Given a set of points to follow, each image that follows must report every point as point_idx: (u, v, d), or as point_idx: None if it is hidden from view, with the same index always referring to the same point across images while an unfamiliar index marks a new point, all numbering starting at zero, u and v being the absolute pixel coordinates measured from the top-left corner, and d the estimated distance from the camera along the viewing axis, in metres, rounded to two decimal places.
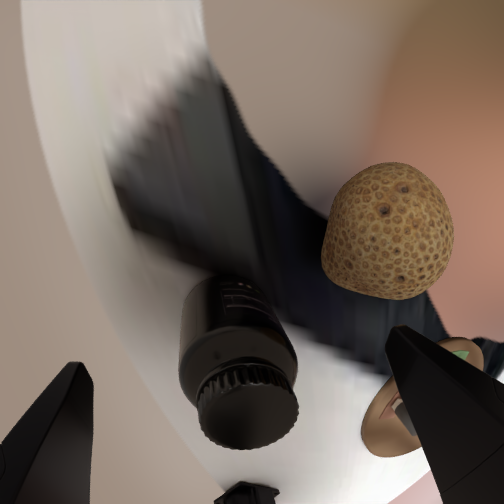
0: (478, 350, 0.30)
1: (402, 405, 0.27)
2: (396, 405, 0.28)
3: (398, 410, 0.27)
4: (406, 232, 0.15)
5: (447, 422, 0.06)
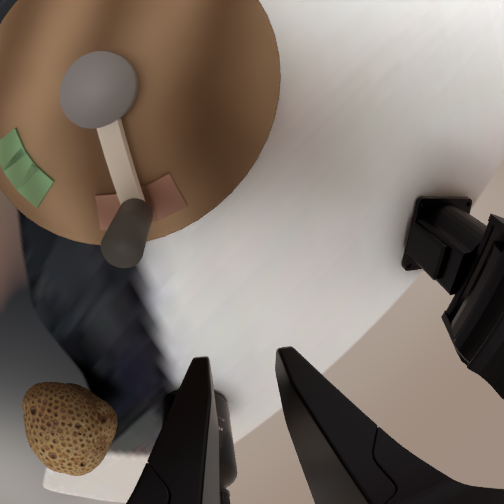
0: None
1: None
2: None
3: None
4: (72, 474, 0.19)
5: (319, 468, 0.05)
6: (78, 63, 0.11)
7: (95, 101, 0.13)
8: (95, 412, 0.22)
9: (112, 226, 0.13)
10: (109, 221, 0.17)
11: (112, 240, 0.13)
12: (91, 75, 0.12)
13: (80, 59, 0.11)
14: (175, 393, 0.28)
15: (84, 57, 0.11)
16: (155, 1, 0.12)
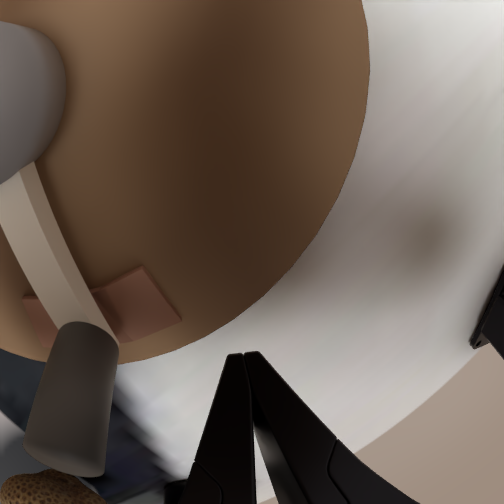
0: None
1: None
2: None
3: None
4: None
5: (279, 477, 0.05)
6: None
7: None
8: None
9: (34, 423, 0.05)
10: (52, 337, 0.09)
11: (41, 449, 0.05)
12: None
13: None
14: (178, 485, 0.19)
15: None
16: None
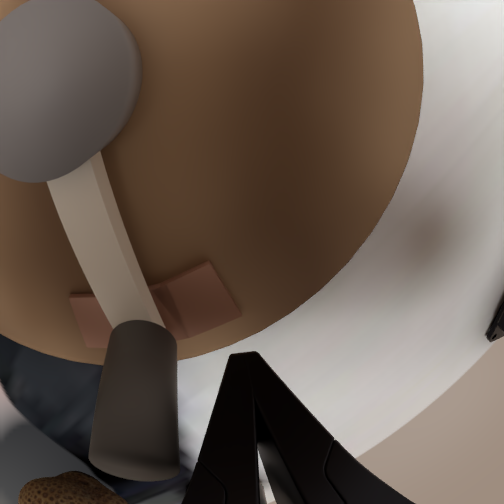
0: None
1: None
2: None
3: None
4: None
5: (276, 477, 0.05)
6: (3, 28, 0.03)
7: (36, 116, 0.05)
8: None
9: (106, 430, 0.05)
10: (100, 336, 0.09)
11: (112, 458, 0.05)
12: (27, 52, 0.04)
13: (8, 18, 0.03)
14: None
15: (17, 12, 0.03)
16: None
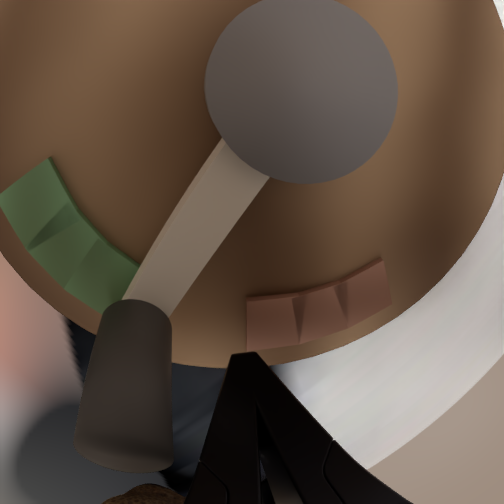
0: None
1: None
2: None
3: None
4: None
5: (275, 478, 0.05)
6: (339, 13, 0.05)
7: (289, 107, 0.06)
8: None
9: (131, 414, 0.05)
10: (266, 338, 0.10)
11: (117, 443, 0.04)
12: (335, 59, 0.05)
13: (349, 12, 0.05)
14: None
15: (357, 19, 0.05)
16: None
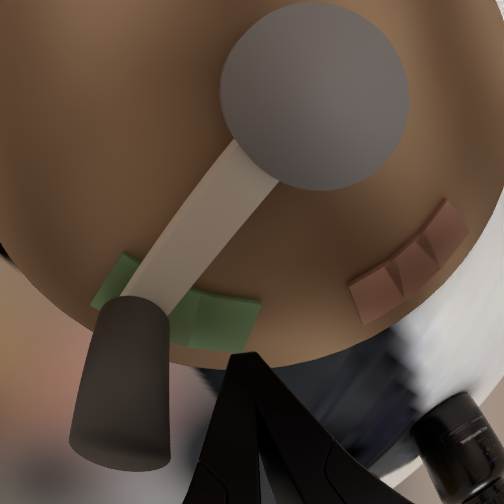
0: (26, 267, 0.08)
1: None
2: None
3: None
4: None
5: (276, 477, 0.05)
6: (359, 25, 0.05)
7: (304, 114, 0.06)
8: None
9: (130, 412, 0.05)
10: (376, 308, 0.11)
11: (115, 440, 0.04)
12: (352, 70, 0.05)
13: (368, 25, 0.05)
14: (426, 418, 0.21)
15: (376, 33, 0.05)
16: None
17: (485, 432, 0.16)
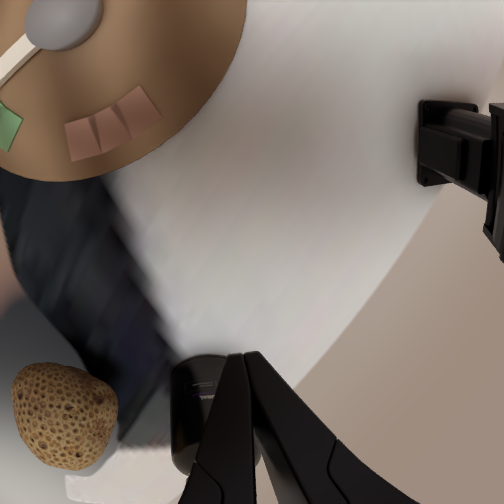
0: None
1: None
2: None
3: None
4: (71, 469, 0.17)
5: (279, 477, 0.05)
6: None
7: (47, 18, 0.09)
8: (89, 392, 0.19)
9: None
10: (80, 149, 0.15)
11: None
12: (70, 2, 0.09)
13: None
14: (182, 364, 0.25)
15: None
16: None
17: None
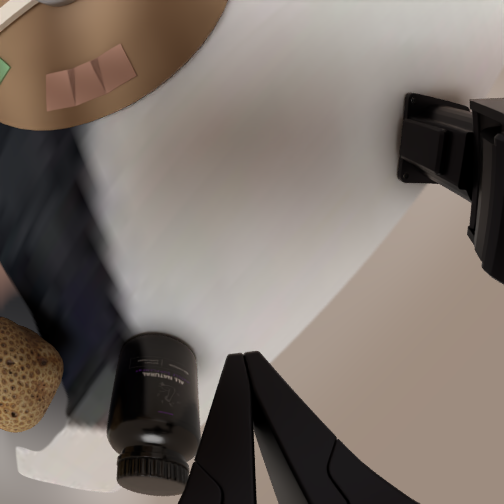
0: None
1: None
2: None
3: None
4: (7, 430, 0.15)
5: (279, 477, 0.05)
6: None
7: None
8: (34, 352, 0.18)
9: None
10: (56, 100, 0.13)
11: None
12: None
13: None
14: (132, 339, 0.23)
15: None
16: None
17: (176, 384, 0.20)
